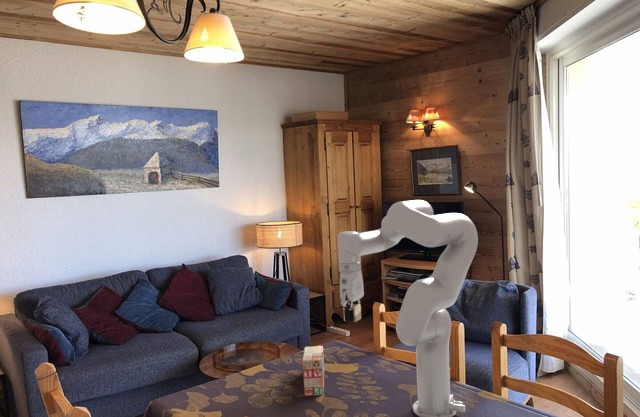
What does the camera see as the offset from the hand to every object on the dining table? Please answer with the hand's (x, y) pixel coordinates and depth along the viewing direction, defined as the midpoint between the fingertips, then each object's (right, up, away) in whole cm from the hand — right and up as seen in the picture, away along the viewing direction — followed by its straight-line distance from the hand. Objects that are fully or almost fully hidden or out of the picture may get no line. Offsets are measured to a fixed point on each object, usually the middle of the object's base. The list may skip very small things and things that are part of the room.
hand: (352, 318), depth 175 cm
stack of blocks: (-13, -22, 0) cm, 26 cm away
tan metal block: (0, 0, 0) cm, 0 cm away
